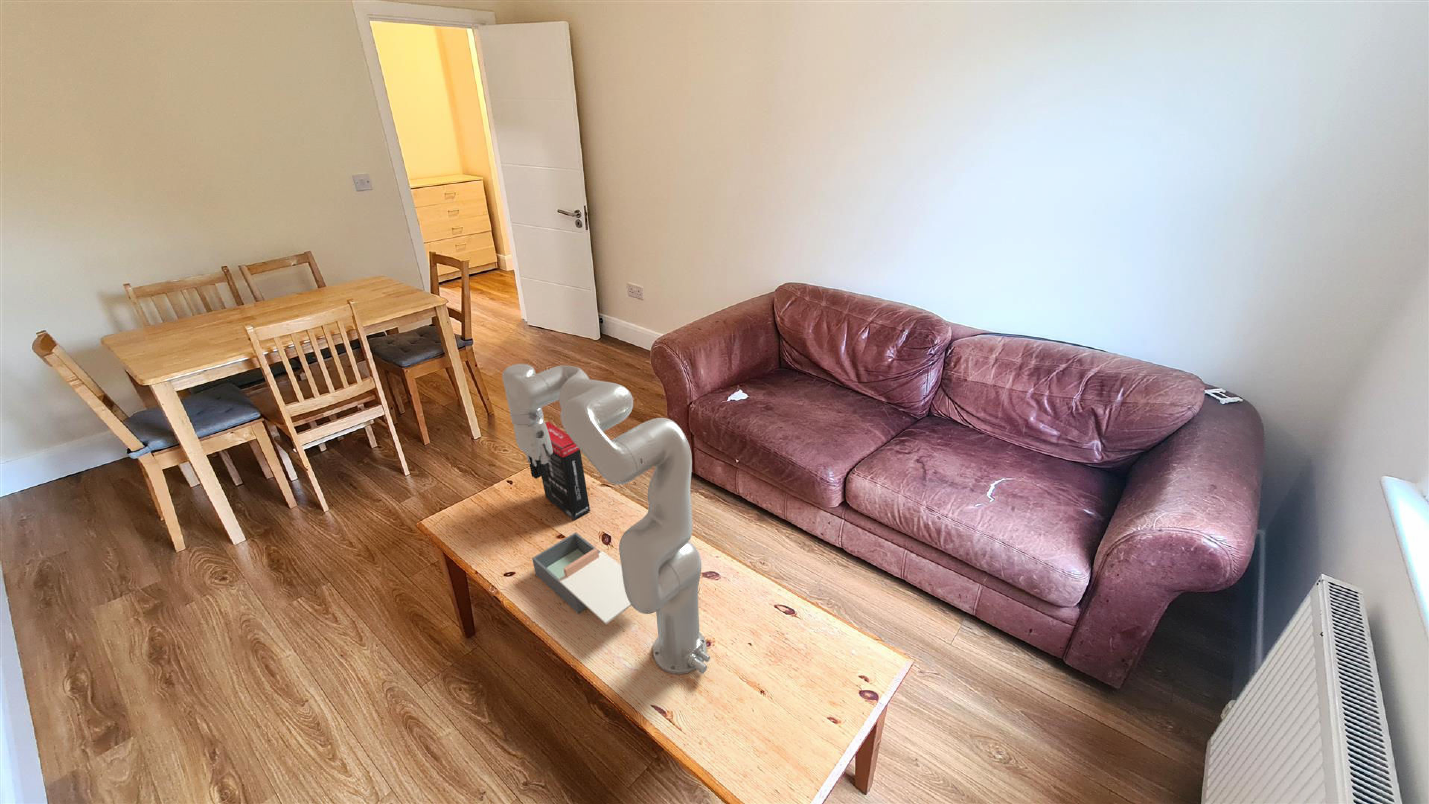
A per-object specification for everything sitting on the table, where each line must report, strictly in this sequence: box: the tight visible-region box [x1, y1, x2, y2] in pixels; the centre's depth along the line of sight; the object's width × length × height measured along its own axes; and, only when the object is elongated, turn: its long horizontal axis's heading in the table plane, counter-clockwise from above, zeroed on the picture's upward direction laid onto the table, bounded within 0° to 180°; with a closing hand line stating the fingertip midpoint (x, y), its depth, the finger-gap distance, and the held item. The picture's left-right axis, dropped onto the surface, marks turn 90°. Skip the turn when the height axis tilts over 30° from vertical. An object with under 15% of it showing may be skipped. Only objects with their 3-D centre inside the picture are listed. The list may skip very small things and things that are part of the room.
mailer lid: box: [558, 547, 633, 625], centre depth 144 cm, size 20×14×3 cm
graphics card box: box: [541, 421, 591, 521], centre depth 177 cm, size 17×7×27 cm, turn 46°
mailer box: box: [532, 532, 601, 615], centre depth 155 cm, size 20×14×6 cm
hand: (539, 475), depth 149 cm, fingers closed
